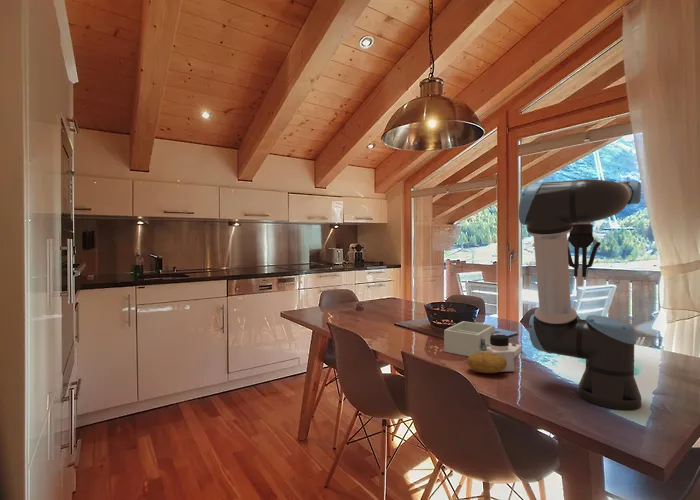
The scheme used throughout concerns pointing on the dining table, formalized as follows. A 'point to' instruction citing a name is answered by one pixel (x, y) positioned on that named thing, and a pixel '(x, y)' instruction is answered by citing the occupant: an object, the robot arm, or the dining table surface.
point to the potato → (486, 362)
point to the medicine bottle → (502, 350)
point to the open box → (467, 338)
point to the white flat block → (512, 346)
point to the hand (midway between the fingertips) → (580, 285)
